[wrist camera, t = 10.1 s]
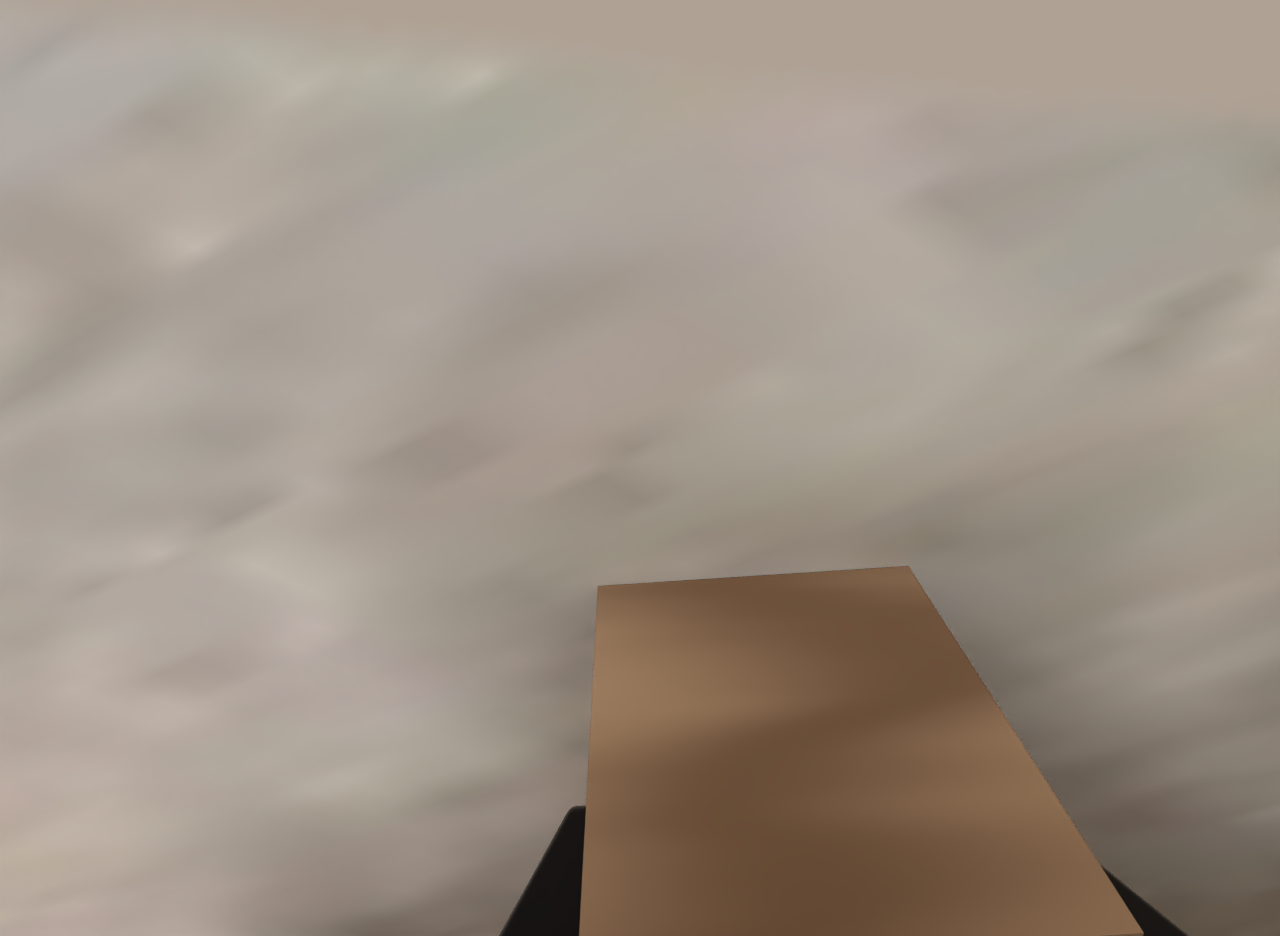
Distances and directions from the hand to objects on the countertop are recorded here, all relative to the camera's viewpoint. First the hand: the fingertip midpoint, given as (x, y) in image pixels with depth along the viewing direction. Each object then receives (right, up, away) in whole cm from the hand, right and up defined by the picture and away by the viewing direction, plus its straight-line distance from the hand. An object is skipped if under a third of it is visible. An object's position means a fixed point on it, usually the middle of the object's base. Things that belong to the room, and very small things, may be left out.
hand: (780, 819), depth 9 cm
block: (0, +1, +2) cm, 2 cm away
